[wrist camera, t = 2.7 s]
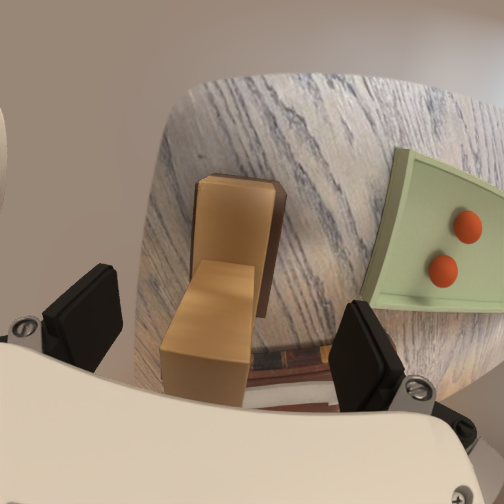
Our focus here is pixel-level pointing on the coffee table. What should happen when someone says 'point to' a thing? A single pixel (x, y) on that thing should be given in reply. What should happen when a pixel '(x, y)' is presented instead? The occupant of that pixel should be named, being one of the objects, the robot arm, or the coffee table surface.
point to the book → (292, 381)
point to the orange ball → (468, 227)
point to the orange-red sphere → (443, 271)
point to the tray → (436, 240)
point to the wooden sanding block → (220, 293)
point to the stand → (272, 241)
